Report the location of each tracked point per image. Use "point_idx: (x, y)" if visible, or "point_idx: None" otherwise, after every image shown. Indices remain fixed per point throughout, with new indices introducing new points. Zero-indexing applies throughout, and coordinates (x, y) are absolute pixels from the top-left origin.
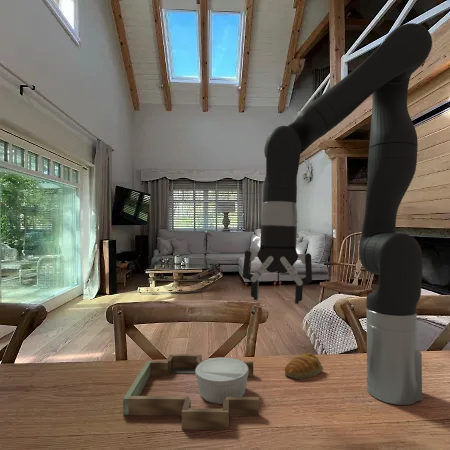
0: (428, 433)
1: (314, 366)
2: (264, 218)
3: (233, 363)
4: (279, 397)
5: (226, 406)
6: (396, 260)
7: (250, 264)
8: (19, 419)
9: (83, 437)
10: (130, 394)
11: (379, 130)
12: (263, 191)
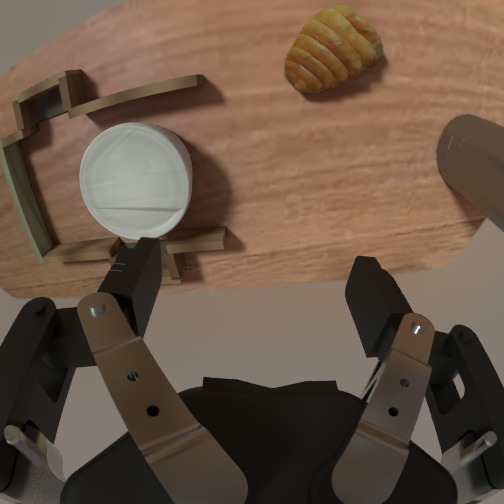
0: (449, 248)
1: (364, 67)
2: None
3: (148, 157)
4: (264, 170)
5: (174, 271)
6: None
7: (34, 397)
8: None
9: (48, 288)
10: (39, 254)
11: None
12: None
